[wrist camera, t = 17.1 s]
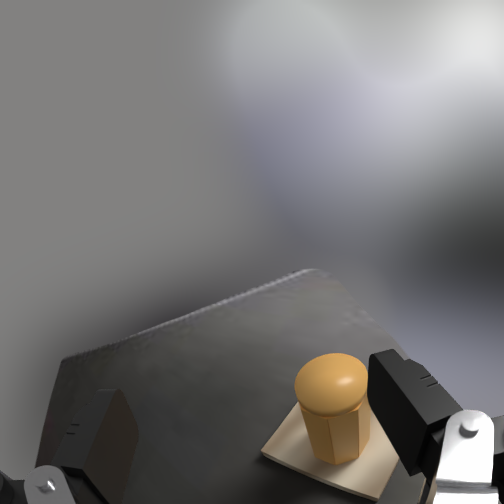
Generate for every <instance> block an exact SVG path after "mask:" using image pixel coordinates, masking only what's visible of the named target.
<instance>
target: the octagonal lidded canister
mask: <svg viewBox="0 0 504 504" xmlns="http://www.w3.org/2000/svg"><path fill="white" fill-rule="evenodd" d="M367 382H368V373H367V370H366V368H365V366H364V365H363V364H362V362H360V361H359V360H358V359H356V358H355V357H352V356H350V355H346V354H340V353H334V354H326V355H322V356H320V357H317V358H315V359H313V360H311V361H310V362H308V363H307V364H306V365H305V366H303V368H302V369H301V370H300V371H299V373H298V375H297V377H296V380H295V392H296V395H297V398H298V402H299V406H300V409H301V412H302V416H303V419H304V422H305V426H306V429H307V432H308V436H309V439H310V443H311V446H312V449H313V453H314V456H315V457H316V458H318V459H320V460H323V461H325V462H328V463H330V464H333V465H339V464H342V463H345V462H348V461H351V460H354V459H357V458H358V457H360V455H361V453H362V452H363V450H364V448H365V446H366V445H367V443H368V441H369V439H370V417H371V408H370V406H369V403H368V399H367Z"/></svg>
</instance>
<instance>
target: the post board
mask: <svg viewBox="0 0 504 504" xmlns="http://www.w3.org/2000/svg"><path fill="white" fill-rule="evenodd" d="M261 452H262V453H263V455H264V456H265V457H267V458H269V459H271V460H273V461H275V462H278V463H280V464H282V465H284V466H286V467H288V468H290V469H293V470H295V471H297V472H299V473H301V474H304V475H306V476H308V477H311V478H313V479H315V480H318V481H320V482H323V483H325V484H328V485H330V486H333V487H336V488H338V489H341V490H344V491H346V492H349V493H352V494H355V495H358V496H361V497H364V498H367V499H370V500H373V501H376V502H377V501H378V500H379V498H380V496H381V494H382V492H383V491H384V489H385V487H386V485H387V483H388V481H389V479H390V477H391V475H392V473H393V471H394V469H395V467H396V465H397V463H398V461H399V459H400V458H399V456H398V455H397V453H396V451H395V449H394V448H393V446H392V444H391V442H390V441H389V439H388V437H387V435H386V434H385V432H384V430H383V429H382V427H381V425H380V423H379V422H378V420H377V418H376V417H375V415H374V413H373V411H372V410H371V417H370V439H369V441H368V443H367V445H366V446H365V448H364V450H363V452H362V453H361V455H360V457H358V458H357V459H354V460H351V461H348V462H345V463H342V464H339V465H333V464H330V463H328V462H325V461H323V460H320V459H318V458H316V457H315V456H314V453H313V449H312V446H311V443H310V439H309V436H308V432H307V429H306V426H305V422H304V419H303V416H302V412H301V409H300V406H299V402H297V404H296V405H295V406H294V408H293V409H292V411H291V412H290V413H289V415H288V416H287V417H286V419H285V420H284V421H283V423H282V424H281V425H280V427H279V428H278V429H277V430H276V432H275V433H274V434H273V436H272V437H271V438H270V439H269V441H268V442H267V443H266V444H265V446H264V447H263V448H262V449H261Z"/></svg>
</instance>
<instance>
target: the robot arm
mask: <svg viewBox="0 0 504 504" xmlns="http://www.w3.org/2000/svg"><path fill="white" fill-rule="evenodd" d="M367 399H368V403H369V406H370V408H371V410H372V411H373V413H374V415H375V417H376V418H377V420H378V422H379V423H380V425H381V427H382V429H383V430H384V432H385V434H386V435H387V437H388V439H389V441H390V442H391V444H392V446H393V448H394V449H395V451H396V453H397V455H398V456H399V458H400V460H401V462H402V463H403V465H404V467H405V469H406V470H407V472H408V474H409V476H410V477H411V476H413V475H415V474H418V473H420V472H423V474H424V476H425V477H426V478H425V480H424V483H423V487H422V490H421V493H420V497H419V500H418V503H417V504H497V501H498V499H499V500H500V502H501V503H502V504H504V415H503V416H499V417H495V418H489V417H488V416H487V415H486V414H484V413H482V412H480V411H476V410H463V409H462V408H461V407H460V405H459V404H458V403H457V402H456V401H455V400H454V399H453V398H452V397H451V396H450V394H448V392H447V391H446V390H445V389H444V388H443V387H442V386H441V385H440V384H438V381H436V379H435V378H434V377H433V376H432V377H431V374H430V373H429V372H428V371H427V370H426V369H425V368H424V366H423V365H421V364H419V363H417V362H415V361H413V360H411V359H408V360H405V361H404V360H403V359H402V357H401V356H400V355H399V354H398V353H397V352H396V351H395V350H394V349H389V350H386V351H382V352H378V353H374V354H371V355H370V357H369V367H368V382H367ZM66 433H67V434H65V436H64V438H63V440H62V441H61V443H60V445H59V447H58V449H57V451H56V453H55V455H54V457H53V459H52V462H51V464H50V465H49V466H41V467H38V468H36V469H34V470H32V471H31V472H30V473H29V474H28V476H27V477H26V479H25V480H12V479H11V478H10V477H8V476H7V475H6V474H4V473H3V472H2V471H0V504H122V500H123V495H124V491H125V487H126V483H127V479H128V476H129V472H130V468H131V464H132V460H133V457H134V453H135V449H136V445H137V442H138V435H139V434H138V426H137V423H136V421H135V419H134V416H133V414H132V412H131V410H130V408H129V405H128V403H127V401H126V398H125V396H124V394H123V392H122V391H121V390H120V389H99V390H97V392H96V393H95V395H94V397H93V399H92V401H91V403H90V404H86V405H85V406H84V407H82V408H81V409H80V410H79V411H78V412H77V413H76V415H75V417H74V418H73V420H72V422H71V426H69V428H68V430H67V432H66Z"/></svg>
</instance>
